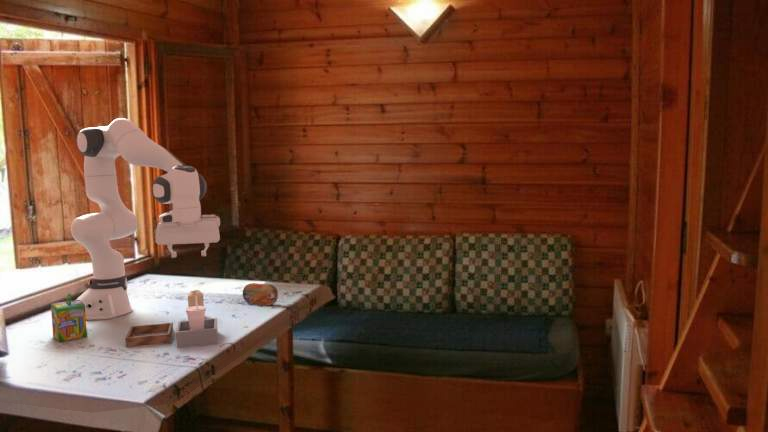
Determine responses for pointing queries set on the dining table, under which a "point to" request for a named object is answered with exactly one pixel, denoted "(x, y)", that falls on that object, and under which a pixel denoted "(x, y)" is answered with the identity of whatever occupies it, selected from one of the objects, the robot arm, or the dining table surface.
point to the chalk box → (68, 320)
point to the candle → (192, 298)
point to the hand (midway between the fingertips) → (189, 256)
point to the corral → (149, 339)
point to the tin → (260, 294)
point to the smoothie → (196, 316)
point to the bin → (196, 334)
